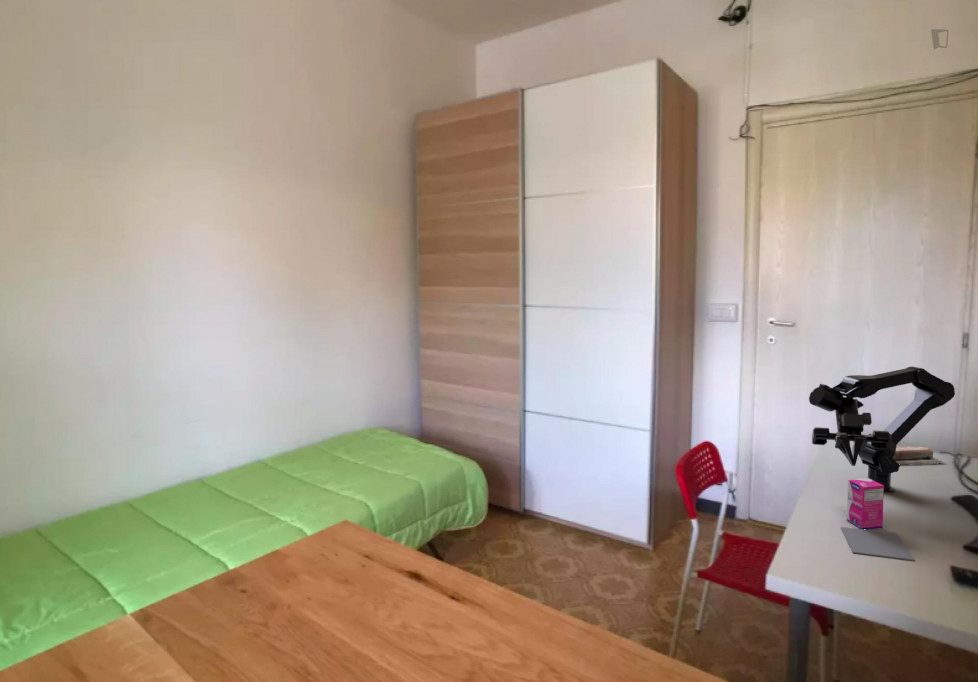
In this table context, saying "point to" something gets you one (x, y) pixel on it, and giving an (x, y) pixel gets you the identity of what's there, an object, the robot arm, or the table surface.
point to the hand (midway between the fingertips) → (853, 465)
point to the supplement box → (865, 503)
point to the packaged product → (914, 455)
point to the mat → (876, 543)
